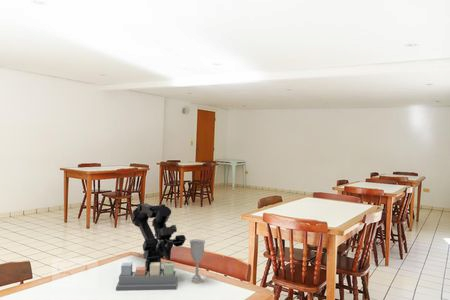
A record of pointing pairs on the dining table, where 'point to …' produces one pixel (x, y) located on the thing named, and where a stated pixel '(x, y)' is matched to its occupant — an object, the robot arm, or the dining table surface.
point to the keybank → (147, 282)
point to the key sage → (168, 268)
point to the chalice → (197, 256)
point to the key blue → (126, 269)
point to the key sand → (155, 269)
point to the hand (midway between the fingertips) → (169, 259)
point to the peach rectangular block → (141, 271)
